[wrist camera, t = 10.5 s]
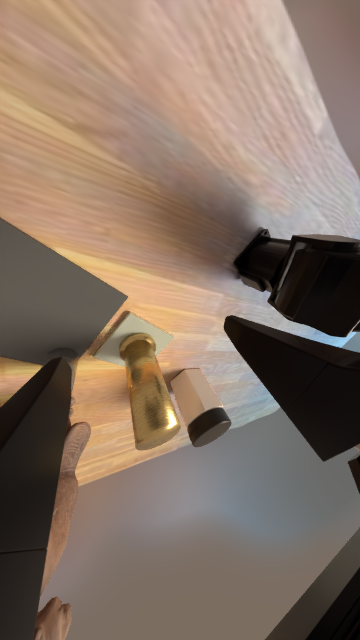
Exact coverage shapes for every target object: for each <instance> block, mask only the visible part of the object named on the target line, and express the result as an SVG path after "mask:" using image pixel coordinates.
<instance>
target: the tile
mask: <svg viewBox="0 0 360 640" xmlns="http://www.w3.org/2000/svg"><path fill="white" fill-rule="evenodd" d="M134 333H146V334H149V335H150V336H152V337H153V339H154V341H155V344H156V351H155V355H156V356H157V355H158V354H159V353H160V352H161V351H162V350H163V349H164V348H165V347H166V345H167V344H168V343H169V342H170V341H171V340H172V339H173V338H174V336H173V335H172V334H170V333H168V332H166V331H165V330H163V329H161V328H159V327H157V326H156V325H154V324H152V323H150V322H148V321H146V320H145V319H143V318H141V317H139V316H137V315H136V314H134V313H132V312H129V313H128V314H127V315H126V316H125V318H124V319H123V320H122V321H121V323H120V324H119V325H118V326H117V328H116V329H115V330H114V331H113V332H112V334H111V335H110V336H109V337H108V339H107V340H106V341H105V342H104V343H103V345H102V346H101V347H100V348H99V350H98V351H97V352H96V353H95V354H94V358H96V359H99V360H103V361H107V362H110V363H114V364H118V365H121V366H125V361H123V360H122V359H121V357H120V353H119V346H120V343H121V342H122V340H123V339H124V338H126V337H127V336H129V335H131V334H134Z"/></svg>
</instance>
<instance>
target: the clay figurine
mask: <svg viewBox="0 0 360 640" xmlns="http://www.w3.org/2000/svg"><path fill="white" fill-rule="evenodd" d="M74 403H75V399H74V398H72V397H71V405H70V407H71V406H72V405H73V404H74ZM72 414H73V409H72V408H70V412H69V417H70V416H71V415H72ZM90 434H91V428H90V425H89V424H88V423H87V422H80V423H75V424H74V425H72V426H71V422H70V418H68V425H67V431H66V437H65V443H64V449H63V456H62V462H61V468H60V474H59V481H58V487H57V493H56V499H55V505H54V512H53V518H52V524H51V530H50V536H49V543H48V547H47V548H46V549H48V550H47V556H46V562H45V569H44V575H43V581H42V587H41V594H42V592H43V590H44V588H45V586H46V585H47V584H48V582H49V580H50V578H51V576H52V575H53V573H54V571H55V569H56V567H57V564H58V562H59V560H60V557H61V555H62V553H63V550H64V548H65V546H66V543H67V540H68V533H69V532H68V530H69V524H70V520H71V517H72V513H73V510H74V507H75V504H76V500H77V494H78V481H77V479H76V477H75V469H76V466H77V463H78V460H79V458H80V456H81V454H82V452H83V450H84V448H85V446H86V444H87V442H88V440H89V438H90ZM41 594H40V596H41ZM61 602H62V601H61V600H60V599H59V598H58V597H55V598H52V599H51V600H50V601H49V602H48V603H47V604H46V606H45V607H44V608H43V610H41V611H40V612H37V618H36V625H35V631H34V637H33V640H65V638H66V635H67V633H68V629H69V626H70V624H71V618H72V615H71V609H70V607H71V605H70V604H63V605H62V604H61Z"/></svg>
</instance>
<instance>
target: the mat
mask: <svg viewBox="0 0 360 640" xmlns="http://www.w3.org/2000/svg"><path fill="white" fill-rule="evenodd" d="M127 298H128V296H126V295H125V294H123V293H121V292H120V291H118V290H116V289H115V288H113V287H112V286H110V285H108V284H107V283H105V282H103V281H102V280H100V279H99V278H97V277H95V276H94V275H92V274H91V273H89V272H87V271H86V270H84V269H82V268H81V267H79V266H78V265H76V264H74V263H73V262H71V261H69V260H68V259H66V258H65V257H63V256H61V255H60V254H58V253H57V252H55V251H53V250H52V249H50V248H48V247H47V246H45V245H44V244H42V243H40V242H39V241H37V240H35V239H34V238H32V237H31V236H29V235H27V234H26V233H24V232H23V231H21V230H19V229H18V228H16V227H14V226H13V225H11V224H10V223H8V222H6V221H5V220H3V219H1V218H0V357H5V358H10V359H15V360H19V361H24V362H29V363H34V364H39V365H43V363H44V361H45V358H46V356H47V354H48V353H49V352H50V351H52V350H54V349H57V348H70V349H73V350H75V351H76V352H77V353H78V355H79V358H80V357H81V356H82V355H83V353H84V352H85V351H86V350H87V348H88V347H89V346H90V345H91V343H92V342H93V341H94V340H95V338H96V337H97V336H98V335H99V333H100V332H101V331H102V329H103V328H104V327H105V326H106V324H107V323H108V322H109V321H110V319H111V318H112V317H113V316H114V314H115V313H116V312H117V311H118V309H119V308H120V307H121V306H122V304H123V303H124V302H125V301H126V299H127Z"/></svg>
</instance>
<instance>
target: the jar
mask: <svg viewBox="0 0 360 640" xmlns="http://www.w3.org/2000/svg"><path fill="white" fill-rule="evenodd" d="M170 384H171V387H172V390H173V393H174V396H175V400H176V402H177V405H178V408H179V411H180V413H181V415H182V417H183V420H184V422H185V425H186V427H187V431H188V434H189V437H190V440H191V442H192V444H193V446H194V447H201V446H204V445H206V444H208V443H210V442H212V441H214V440H215V439H217V438H218V437H220V436H221V435H222V434H223V433H225V432H226V431H227V430H228V429H229V427H230V426H231V421H230V419H229V417H228V416H227V414H226V412H225V411H224V409H223V404H222V403H221V401H220V399H219V398H218V396H217V395H216V393H215V391H214V390H213V388H212V387H211V385H210V383H209V382H208V380H207V378H206V377H205V375H204V374H203V372H202V370H201V369H185V370H183V371H182V372H181V373H180V374H179V375H178V376H176V377H175V378H174V379H173V380H172V381H171V382H170Z"/></svg>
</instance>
